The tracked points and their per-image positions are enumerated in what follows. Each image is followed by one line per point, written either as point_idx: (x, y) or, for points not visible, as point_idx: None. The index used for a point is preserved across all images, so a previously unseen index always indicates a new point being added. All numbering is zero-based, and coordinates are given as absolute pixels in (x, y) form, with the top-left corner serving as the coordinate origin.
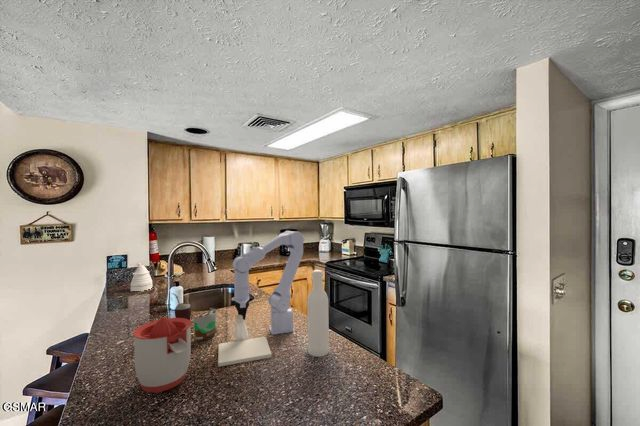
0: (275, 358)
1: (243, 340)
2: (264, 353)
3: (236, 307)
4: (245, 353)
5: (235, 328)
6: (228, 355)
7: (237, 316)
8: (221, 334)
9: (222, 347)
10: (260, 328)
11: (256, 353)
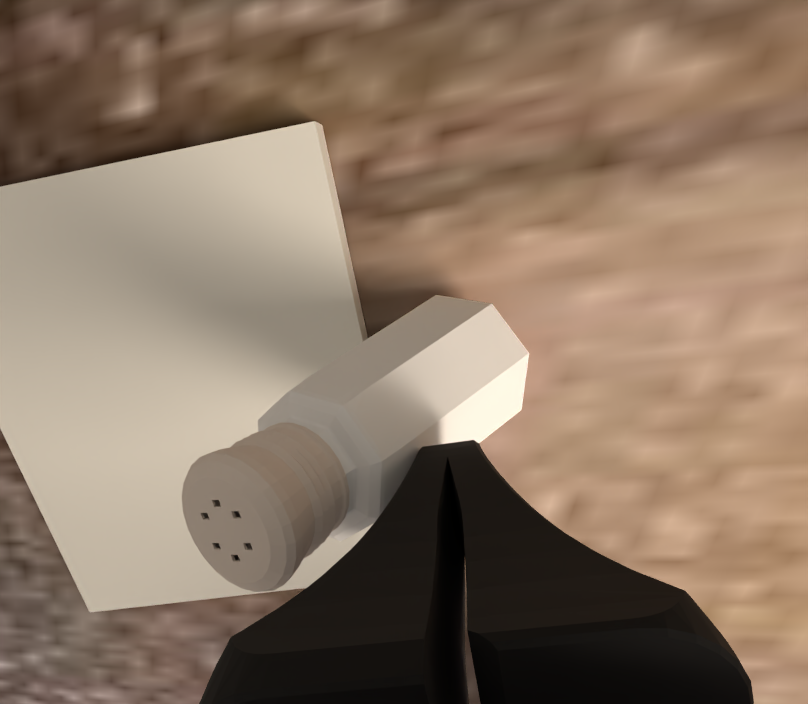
0: (91, 612)
1: None
2: (93, 568)
3: (241, 649)
4: (89, 431)
5: (340, 358)
6: (43, 285)
7: (240, 507)
8: (681, 81)
9: (216, 188)
10: (694, 510)
11: (92, 514)
